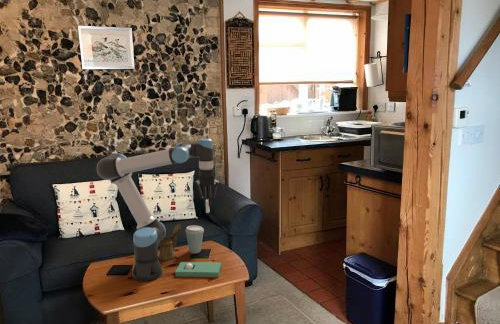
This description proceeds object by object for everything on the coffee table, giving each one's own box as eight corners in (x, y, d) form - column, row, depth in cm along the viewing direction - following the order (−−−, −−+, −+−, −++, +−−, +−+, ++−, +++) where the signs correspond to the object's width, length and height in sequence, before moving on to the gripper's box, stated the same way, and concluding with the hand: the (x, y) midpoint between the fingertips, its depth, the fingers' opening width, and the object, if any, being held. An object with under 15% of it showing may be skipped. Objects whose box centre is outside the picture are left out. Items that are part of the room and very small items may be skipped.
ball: (182, 268, 212) (188, 263, 212) (184, 265, 216) (189, 260, 216) (188, 274, 213) (193, 269, 212) (189, 270, 217) (195, 265, 216)
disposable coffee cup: (198, 246, 248) (197, 222, 246) (208, 251, 240) (207, 227, 237) (182, 251, 241) (181, 226, 239) (192, 256, 233) (191, 231, 231)
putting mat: (175, 276, 209) (175, 271, 209) (180, 266, 221) (180, 262, 220) (218, 277, 208) (218, 272, 207) (221, 266, 220) (221, 262, 219)
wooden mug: (184, 256, 235) (183, 225, 231) (162, 261, 227) (160, 230, 224) (178, 251, 242) (177, 221, 239) (156, 256, 235) (154, 226, 232)
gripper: (192, 169, 211) (194, 214, 215) (217, 169, 210) (219, 214, 214) (195, 167, 218) (197, 209, 222) (219, 167, 217) (220, 210, 222)
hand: (207, 212), depth 218 cm, fingers closed
